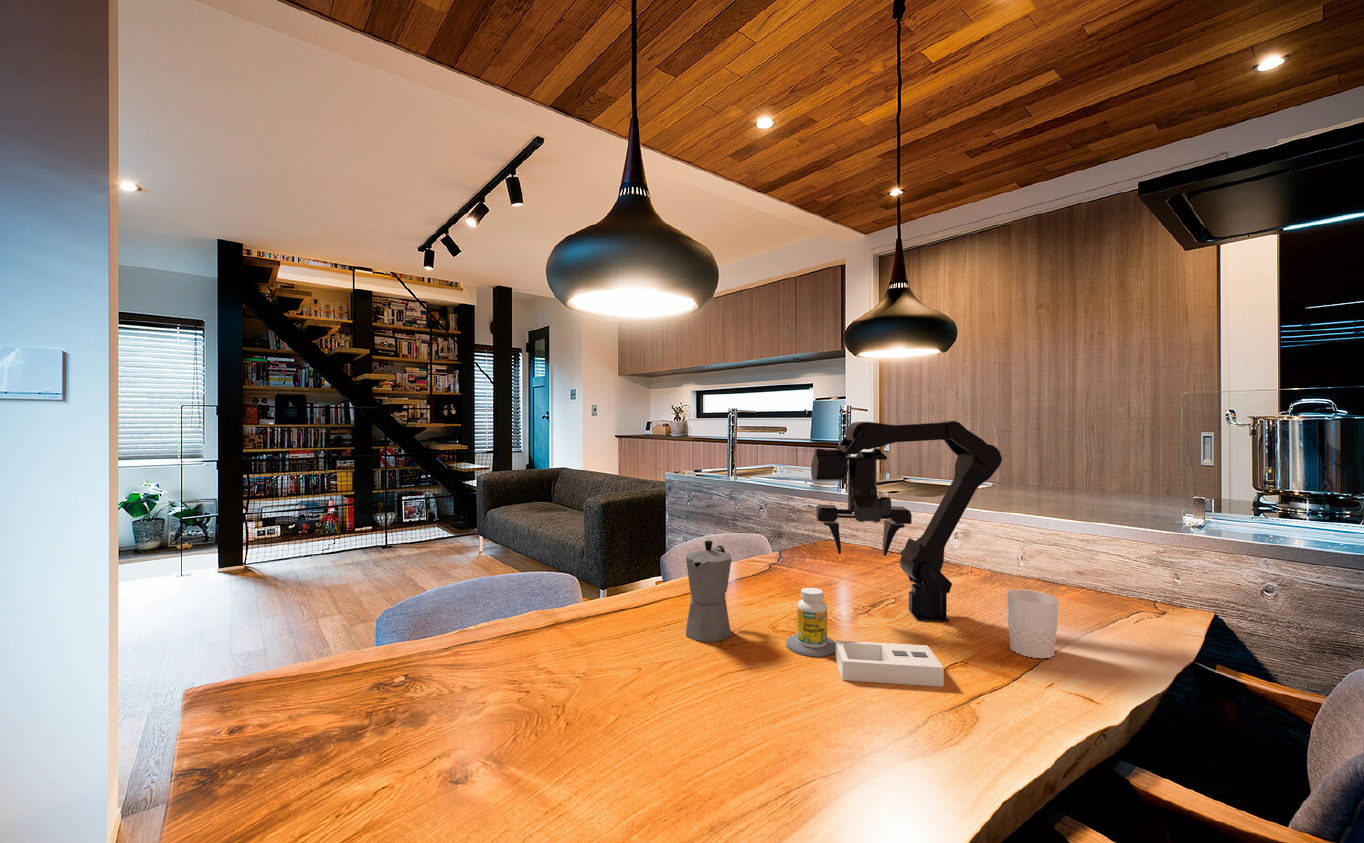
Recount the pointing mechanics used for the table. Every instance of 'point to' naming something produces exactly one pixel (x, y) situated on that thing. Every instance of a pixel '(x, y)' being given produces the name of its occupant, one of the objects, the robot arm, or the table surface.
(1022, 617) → the white cup
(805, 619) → the supplement bottle
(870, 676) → the desk organizer
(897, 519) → the robot arm
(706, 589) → the coffeepot
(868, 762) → the table surface
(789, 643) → the mat
